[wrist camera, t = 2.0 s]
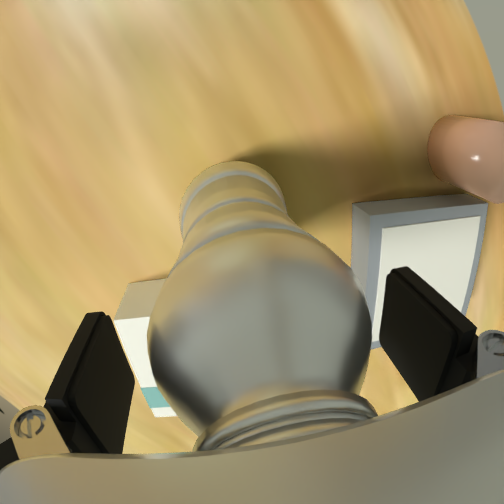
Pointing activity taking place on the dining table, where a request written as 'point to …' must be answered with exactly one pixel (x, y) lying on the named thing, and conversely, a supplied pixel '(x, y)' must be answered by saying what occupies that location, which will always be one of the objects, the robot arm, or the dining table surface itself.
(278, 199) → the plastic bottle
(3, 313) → the dining table surface
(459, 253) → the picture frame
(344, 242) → the dining table surface
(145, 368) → the lying carton
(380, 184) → the dining table surface
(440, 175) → the pink smooth rounded part
